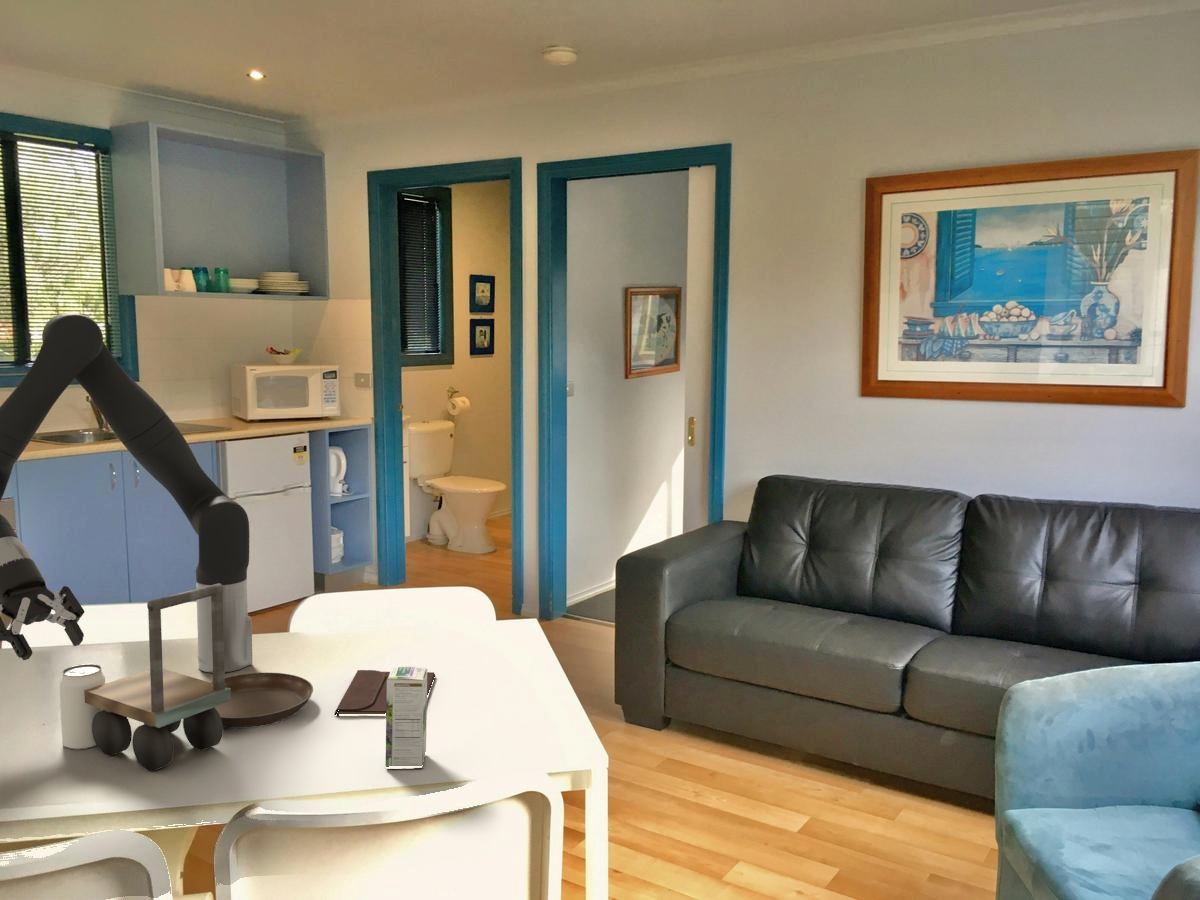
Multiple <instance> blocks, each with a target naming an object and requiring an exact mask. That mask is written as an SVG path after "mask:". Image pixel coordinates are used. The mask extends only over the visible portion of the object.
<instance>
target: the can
mask: <svg viewBox="0 0 1200 900" xmlns="http://www.w3.org/2000/svg"><path fill="white" fill-rule="evenodd" d="M102 669H103V667H102V666H101V665H99V664H95V663H84V664H77V665H72V666H69V667H67V668H64V669H63V670H62V672H61V673H62V676H61V678H60V680H59V700H60V721H61V722H60V723H61V736H62V737H61V739H62V745H63V746H64V747H65V748H66V747H67V748H66V749H68V748H70V749H69V750H74V749H81V750H87V749H91V748H97V745H96V743H95V740H94V738H93V733H92V721H93V718H94V716H95V715H96V713H98V712H100V711H103V709H102V708H99V707H96V706H93V705H90V704H87V703H85V696H84V690H87V689H90V688H93V687H97V686H100V685H103V684H106V676H105V674H104V672H103V671H102Z"/></svg>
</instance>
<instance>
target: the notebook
mask: <svg viewBox="0 0 1200 900" xmlns="http://www.w3.org/2000/svg"><path fill="white" fill-rule="evenodd" d="M390 672H391V671H380V670H373V669H358V670H357V671H356V672H355V674H354V676H353V678H352V680H351V682H350V684H349V686H348V687H347V690H346V691H345V693H344V695H343V697H342V699H340V702H339V704H338V705H337V707H336V709H335V710H334V716H335V715H336V714H337V712H338V714H385V713H386V702H387V680H388V677H389V674H390ZM434 677H435V678H436V673H435V672H434V671H433V672H431V671H430V672H429V671H427V695H428V693H429V690H430V688H431V685H432V682H433V680H434ZM434 681H435V680H434ZM338 710H339V711H338Z"/></svg>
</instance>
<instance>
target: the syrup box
mask: <svg viewBox="0 0 1200 900" xmlns="http://www.w3.org/2000/svg"><path fill="white" fill-rule="evenodd" d="M389 672H390V674H389V677H388V680H387V702H386V717H385V718H386V720H385V766H386V767H389V766H422V765H423V766H424V764H423V762H424V763H425V759H424V757H425V758H426V755H425V752H427V720H428V719H427V718H428V717H427V716H428V715H427V713H428V712H427V711H428V709H427V708H428V701H427V672H428V668H426V667H419V666H407V665H406V666H396V667H391V670H390V671H389Z"/></svg>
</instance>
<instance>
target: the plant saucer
mask: <svg viewBox="0 0 1200 900" xmlns="http://www.w3.org/2000/svg"><path fill="white" fill-rule="evenodd" d="M210 683H213V681H212V682H210ZM225 687H227V688H230V689H231V701H229V702H227V703H224V704H221V705H219V706H216V707H214V708H215V709H216V710H217V711H218V713H219V715H220V717H221V720H222V724H223V728H227V729H228V728H229V729H245V728H246V729H249V728H258V727H259V728H260V727H264V726H269V725H273V724H276V722H277V723H278V722H280V723H281V722H282V721H285V720H287V719H289V718H291V717H292V716H294V715H296V714H297V713H298V712H299V711H300V710H301V709H302V708H303V707H304V706H306V704H307V703H308V701H309V700H310V698H311V697H312V695H313V692H314V687H313V684H312V683H311V681H308V680H307V679H306V678H303V677H301V676H299V675H298V676H297V675H295V674H289V673H283V672H253V673H245V674H238V675H231V676H227V677H225Z"/></svg>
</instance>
